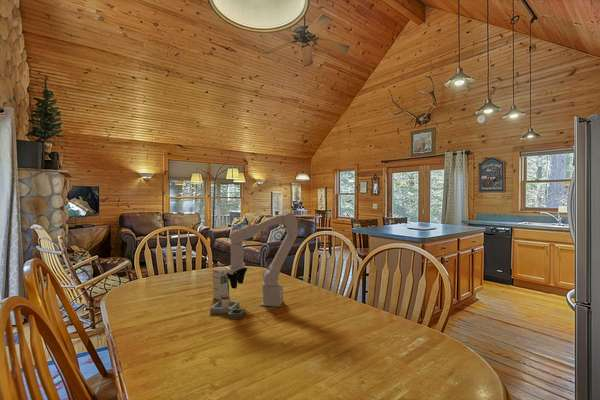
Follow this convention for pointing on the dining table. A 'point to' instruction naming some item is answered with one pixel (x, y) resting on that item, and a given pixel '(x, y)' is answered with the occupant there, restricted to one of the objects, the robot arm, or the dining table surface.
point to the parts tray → (224, 311)
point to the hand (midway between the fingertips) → (237, 285)
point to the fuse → (225, 299)
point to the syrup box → (220, 282)
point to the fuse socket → (236, 313)
